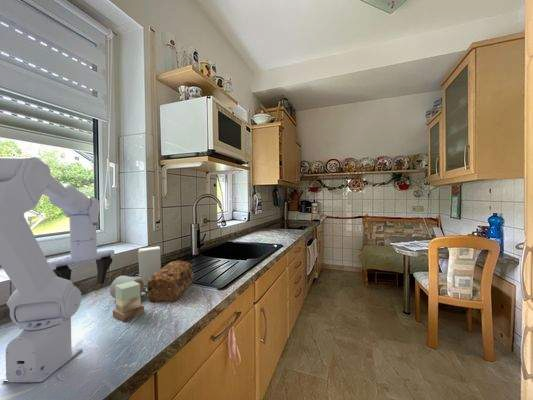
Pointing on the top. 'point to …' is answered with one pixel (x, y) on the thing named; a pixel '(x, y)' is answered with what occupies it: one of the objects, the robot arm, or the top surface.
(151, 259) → the skincare box
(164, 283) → the bread
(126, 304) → the beech block
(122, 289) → the sage block
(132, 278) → the ceramic mug
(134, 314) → the walnut slab
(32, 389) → the top surface
